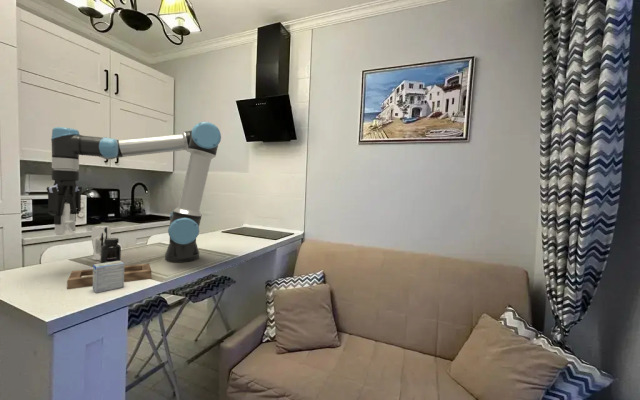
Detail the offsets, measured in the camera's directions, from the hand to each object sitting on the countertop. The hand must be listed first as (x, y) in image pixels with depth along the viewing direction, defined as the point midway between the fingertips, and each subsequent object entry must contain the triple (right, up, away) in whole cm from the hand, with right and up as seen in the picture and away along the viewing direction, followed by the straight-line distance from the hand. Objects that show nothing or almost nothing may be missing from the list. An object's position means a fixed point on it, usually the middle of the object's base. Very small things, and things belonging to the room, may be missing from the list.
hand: (65, 231), depth 105 cm
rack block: (+19, -17, -1) cm, 26 cm away
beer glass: (-5, -15, +23) cm, 28 cm away
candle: (0, -1, 0) cm, 1 cm away
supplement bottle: (+8, -16, +12) cm, 22 cm away
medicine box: (+24, -18, -10) cm, 32 cm away
